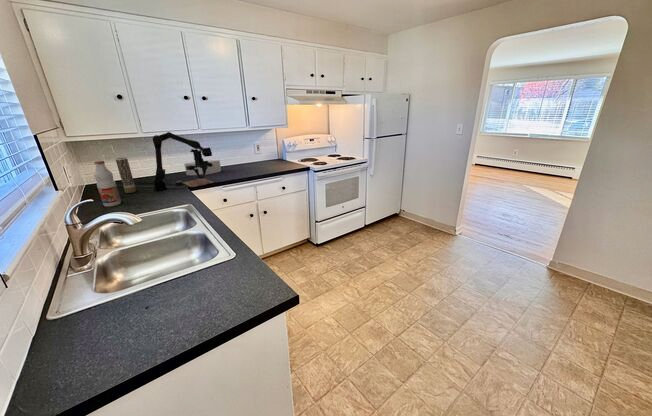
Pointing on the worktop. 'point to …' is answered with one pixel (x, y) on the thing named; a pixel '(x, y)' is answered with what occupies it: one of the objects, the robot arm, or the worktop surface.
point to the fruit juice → (106, 185)
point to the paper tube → (126, 175)
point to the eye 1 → (178, 183)
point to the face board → (198, 182)
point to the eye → (201, 176)
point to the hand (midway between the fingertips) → (201, 176)
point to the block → (209, 170)
